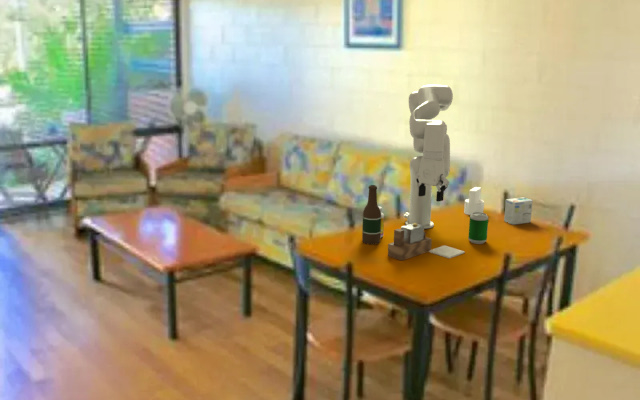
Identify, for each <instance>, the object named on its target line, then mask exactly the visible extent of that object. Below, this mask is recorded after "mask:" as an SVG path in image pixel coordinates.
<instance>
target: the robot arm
mask: <svg viewBox="0 0 640 400" xmlns="http://www.w3.org/2000/svg"><path fill="white" fill-rule="evenodd" d="M453 100H454V93H453V90H452V88H451V87H450V85H445V84H443V85H442V84H426V85H423V86H421V87H419V89H418V90H417V91H413V92H411V93H409V96H408V108H409V111H410V112H409V113H410V116H409V124H408V125H409V131H410V132H409V134H410V136H411V137H412V138H413V141H412V142H413V143H412V144H413V150H414V151H415V152H416V153H418V154H422V155H418V156H414V157H412V158H411V160H410V161H409V173H410V194H409V195H410V196H409V212H406V211H405V213H403V216H402V217H403V218H406V219H407V220H406V221H405V225H409V224H412V223H417V224H420V225H423V226H424V230H425V229H430V228H431V229H432V228H433V227H434V222H433V221H431V219H432V201H433V200H432V199H433V187H436V190H437V191H436V196H435V197H436V198H435V200H436V202H443V201H444V195H445V191H446V189H447V188H448V185H449V184H450V180H449V179H448V178H447V177H449V175H450V170H451V169H450V168H451V143H450V142H451V140H450V137H449V135H448V132H447V131H448V125H447V124H446V122H445V121H444V120H441V119H434V118H437V117H438V115H439V114H440V112H445V111H447V110H448V109H449V107H451V105H452V103H453Z"/></svg>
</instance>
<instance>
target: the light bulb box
mask: <svg viewBox="0 0 640 400" xmlns="http://www.w3.org/2000/svg"><path fill="white" fill-rule="evenodd" d="M504 207H505V209H504V217H503V222H505V223H507V222H508V223H507V224H509V225H521V224H528V223H529V224H530V223H531V222H532V212H533V200H532V199H530V198H527V197H524V196H523V197H514V198H507V199H505V205H504Z"/></svg>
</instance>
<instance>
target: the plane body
mask: <svg viewBox="0 0 640 400" xmlns="http://www.w3.org/2000/svg"><path fill="white" fill-rule="evenodd" d="M426 234H427V233H426V232H425V231H424V237H423V240H422V241H419V242H416V243H413V244H407V243H404V230H401V228H397V229H394V231H393V242H390V243H388V246H387V256H388V257H389V258H393V259H396V260H399V261H405V260H407V259H410V258H413V257H416V256H419V255H422V254H425V253H429V250H432V243H433V242H432V241H433V239H432V238H430V237H427V236H426Z"/></svg>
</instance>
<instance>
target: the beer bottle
mask: <svg viewBox="0 0 640 400" xmlns="http://www.w3.org/2000/svg"><path fill="white" fill-rule="evenodd" d="M377 194H378V186H377V185H375V184H370V185H368V196H367V197H368V198H367V203H366V205H365V207H364V208H363V211H362V231H361V233H362V234H361V239H362V243H364V244H366V245H377V244H380V243H381V238H380V235H381V212H382V211H381V212H380V209H379V207H378V206H379V205H378V197H377V196H378V195H377Z"/></svg>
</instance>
